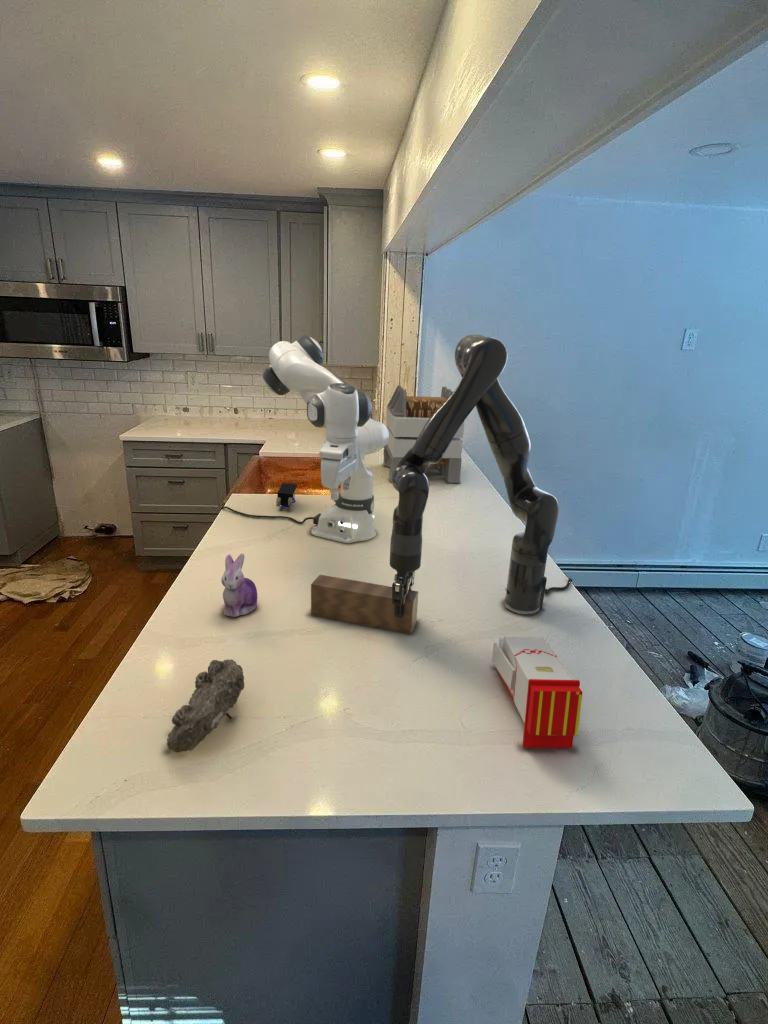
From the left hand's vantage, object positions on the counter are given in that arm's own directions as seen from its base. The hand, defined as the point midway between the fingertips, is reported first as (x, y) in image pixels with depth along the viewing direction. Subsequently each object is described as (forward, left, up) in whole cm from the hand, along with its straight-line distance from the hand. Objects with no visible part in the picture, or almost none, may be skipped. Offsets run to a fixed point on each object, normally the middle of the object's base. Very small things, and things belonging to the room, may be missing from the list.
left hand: (340, 494), depth 157 cm
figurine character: (-40, +51, -26) cm, 70 cm away
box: (+14, -20, -26) cm, 35 cm away
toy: (+56, -39, -26) cm, 73 cm away
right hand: (+24, -20, -21) cm, 37 cm away
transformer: (-3, +119, -26) cm, 122 cm away
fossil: (-2, -64, -26) cm, 69 cm away
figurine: (-17, -26, -26) cm, 41 cm away
